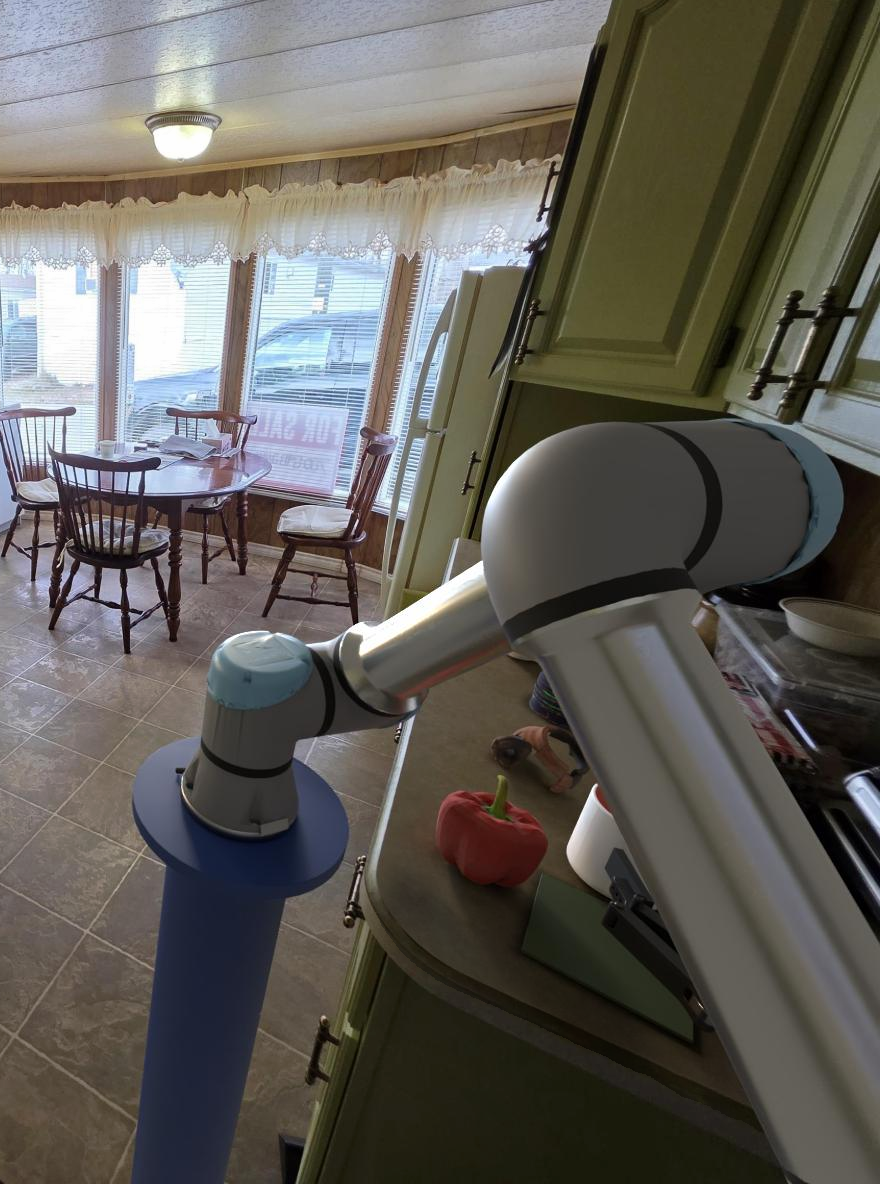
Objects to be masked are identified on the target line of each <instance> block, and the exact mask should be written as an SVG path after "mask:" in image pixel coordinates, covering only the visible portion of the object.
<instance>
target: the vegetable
mask: <svg viewBox="0 0 880 1184" xmlns="http://www.w3.org/2000/svg"><path fill="white" fill-rule="evenodd" d="M496 780H498V784H497V790H496V794H492V793H488V792H483V791H476V792H470V791H467V790H457V791H453V792H452V793H450V794H448V795H447V796H446V798H445V799H444V800H443V801H442V803H441V806H440V808H439V811H438V814H437V820H436V828H435V839H436V847H437V849H438V850H439V853H440V855H441V857H442V858H443V860H444V861H446V862H447V863H448V864H450V865H451V866H453V867H456V868H458V869H459V871H460V873H461V874H462V876H463V877H464V878H466V879H467V880H470V881H471V882H474V883H475V884H479V885H483V886H484V885H485V886H486V885H490V884H496V885H498V886H500V887H505V888H514V887H516V886H519V885H520V886H521V885H522V884H523V883H525V882H526V881H528V879H530V877H532V876H533V874H534V873H535V871H536V870H537V869H538V868H539V866H540V864H541V863H542V861H543V860H544V858H545V856H546V854H547V852H548V846H549V840H548V838H547V834H546V833H545V830H544V828H543V826H542V824H541V822H540V821H539V820H538V819H537V818H536V817H535V816H534V815H532V814H531V812H529V811H527V810H524V809H521V808H519V807H516V806H515V805H514V804H512V803H511V801H509V800H507V798H508V792H509V782H508V779H507V778H506V776H504V775H501V774H498V775H497V776H496Z"/></svg>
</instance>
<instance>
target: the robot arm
mask: <svg viewBox="0 0 880 1184" xmlns="http://www.w3.org/2000/svg"><path fill="white" fill-rule="evenodd" d="M844 496H845V495H844V488H843V483H842V480H841V477H840V474H839V472H838V470H837V468H836V466H835V464H834V463H833V461H832V460H831V458H830V457H829V456H828V455H827V454H826V452H825V451H824V450H823V449H822V448H820V446H819V445H817V444H816V443H815V442H813V441H812V440H810V439H809V438H808V437H806V436H805V435H802V434H800V433H799V432H797V431H795V430H791V429H789V428H787V427H784V426H780V425H776V424H771V423H766V422H765V423H763V422H755V421H752V420H748V419H744V418H717V419H711V420H710V419H709V420H686V421H657V422H655V421H654V422H652V421H651V422H628V421H608V422H595V423H589V424H583V425H579V426H576V427H572V428H569V429H566V430H563V431H560V432H558V433H556V434H553V435H551V436H549V437H546V438H545V439H543V440H540V441H539V442H538V443H536V444H535V445H533V446H532V447H530V448H528V449H527V450H526V451H524V452H523V453H522V454H521V455H520V456H519V457H518V458H517V459H515V461H513V462H512V463H511V464H510V466H508V468H507V470H505V471H504V473H503V475H502V476H501V477H500V479H499V480H498V481H497V483H496V485H495V486H494V488H493V490H492V492H491V495H490V497H489V499H488V501H487V504H486V507H485V509H484V515H483V519H482V525H481V538H480V553H481V554H480V555H481V561H479V562H478V563H475V564H474V565H473V566H472V567H470V568H468V569H466V570H465V571H463V572H462V573H460V574H459V575H457V576H455V577H454V578H452V579H451V580H449V581H447V583H444V584H442V585H441V586H440V587H438V588H436V589H435V590H433V591H431V592H430V593H429V594H427V595H426V596H424V597H422V598H421V599H419V600H418V601H416V602H414V603H413V604H411V605H409V606H408V607H406V608H405V609H403V610H401V611H400V612H398V613H397V614H395V615H394V616H392V617H391V618H389V619H387V620H386V621H384V622H383V621H379V620H378V621H376V620H367V621H362V622H359V623H356V624H355V625H353V626H351V627H350V628H348V629H347V630H345V631H344V632H343V633H341V634H339V635H338V636H337V637H335V638H333V639H331V640H328V641H324V642H323V641H322V642H316V643H307V644H305V643H304V642H303V641H301V640H300V639H298V638H296V637H294V636H293V635H289V634H286V633H282V632H276V633H271V632H270V631H269V630H255V631H247V632H242V633H238V634H235V635H232V636H231V637H229V638H227V639H225V640H224V641H223V642H221V643H220V645H218V647H217V648H216V649H215V652H214V653H213V655H212V658H211V661H210V666H209V669H208V670H209V671H208V673H207V676H206V683H205V684H206V685H205V686H206V693H205V701H204V710H203V718H202V725H201V734H200V737H201V742H200V745H199V746H198V748H197V750H196V752H195V754H194V755H193V757H192V759H191V761H190V762H189V764H188V766H187V768H184V767H176V769H175V772H176V774H183V777H182V782H181V792H180V793H181V800H182V803H183V806H184V808H185V809H186V811H187V812H188V814H189V815H190V816H191V817H192V818H193V819H194V820H195V821H196V822H197V823H198V824H199V825H200V826H202V827H203V828H205V829H206V830H208V831H210V832H211V833H213V834H215V835H218V836H220V837H223V838H225V839H229V840H232V841H237V842H243V843H264V842H269V841H273V840H276V839H278V838H280V837H282V836H284V835H285V834H286V833H288V832H289V831H290V830H291V829H292V827H293V826H294V824H295V821H296V817H297V813H298V807H299V800H298V794H297V788H296V783H295V778H294V773H293V768H292V760H293V757H294V754H295V750H296V746H297V742H298V741H300V740H308V739H314V738H320V737H326V736H327V737H328V736H332V735H339V734H345V733H346V734H347V733H353V732H362V731H367V730H376V729H378V730H382V729H389V728H392V727H395V726H398V725H400V724H402V723H404V722H407V721H409V720H410V719H412V718H413V717H415V715H416V714H418V713H419V711H420V710H421V708H422V707H423V705H424V702H425V701H426V699H427V698H428V694H429V692H430V689H431V688H433V687H435V686H438V685H441V684H442V683H445V682H447V681H449V680H451V679H454V678H457V677H459V676H461V675H463V674H465V673H468V672H470V671H473V670H474V669H477V668H479V667H482V666H484V665H486V664H488V663H490V662H493V661H495V660H498V659H500V658H502V657H505V656H508V655H507V654H509V653H511V652H515V653H517V654H519V655H522V656H524V657H526V658H529V659H531V660H533V661H532V662H536V663H537V664H538V665H539V666H540V668H541V670H542V671H543V672H544V674H545V676H546V678H547V681H548V683H549V685H550V687H551V689H552V691H553V693H554V695H555V697H556V699H557V701H558V703H559V706H560V708H561V710H562V712H563V714H564V716H565V718H566V720H567V722H568V724H569V726H570V728H569V729H570V730H571V732H572V733H571V734H572V735H573V736H574V737H575V739H576V741H577V743H578V745H579V747H580V749H581V751H582V753H583V755H584V758H585V760H586V762H587V764H588V766H589V768H590V769H589V771H590V772H591V774H592V777H593V778H594V780H595V782H596V783H595V784H597V785H598V787H599V789H600V791H601V793H602V795H603V797H604V799H605V801H606V803H607V805H608V808H609V810H610V812H611V814H612V816H613V818H614V820H615V822H616V824H617V826H618V828H619V830H620V832H621V835H622V837H623V839H624V841H625V843H626V845H627V847H628V849H629V851H630V853H631V855H632V857H633V860H634V862H635V864H636V866H637V868H638V870H639V872H640V874H641V876H642V878H643V880H644V882H645V885H646V887H647V889H648V890H647V889H646V887H645V885H644V884H643V882H642V880H641V879H640V877H639V875H638V873H637V872H636V870H635V868H634V867H633V865H632V863H631V862H630V860H629V858H628V857H627V855H626V853H625V852H624V850H623V849H619V848H615V847H614V848H613V850H612V853H611V855H610V857H609V859H608V861H607V863H606V865H605V870H606V872H607V874H608V876H609V878H610V879H611V881H612V882H611V884H610V886H609V892H610V894H611V895H612V897H613V899H614V900H612V899H611V900H610V902H609V903H608V904H609V906H608V908H607V910H606V912H605V914H604V916H603V919H602V921H601V923H602V925H603V926H604V927H605V928H606V929H607V930H608V931H609V932H610V933H611V934H612V935H613V936H614V937H615V938H616V939H617V940H618V941H619V942H620V943H621V944H622V945H623V946H624V947H625V948H626V949H627V950H628V951H629V952H630V953H631V954H632V955H633V956H634V957H635V958H636V959H637V960H638V961H639V962H640V963H641V964H642V965H643V966H644V967H645V968H646V969H647V970H648V971H649V972H650V973H651V974H652V975H653V976H654V977H655V978H656V979H657V980H658V981H659V982H660V983H661V984H662V985H663V986H665V987H666V988H667V989H668V990H669V991H670V992H671V993H672V994H673V995H674V996H675V997H676V998H677V999H678V1000H679V1001H680V1002H681V1004H682V1005H683V1007H684V1008H685V1010H686V1011H687V1013H688V1014H689V1016H690V1017H691V1019H692V1020H693V1024H694V1025H695V1026H696V1027H697V1028H698V1029H700V1030H701V1031H703V1032H705V1033H708V1034H712V1033H714V1032H715V1033H716V1034H717V1036H718V1038H719V1041H720V1042H721V1045H722V1047H723V1049H724V1051H725V1053H726V1055H727V1057H728V1059H729V1061H730V1064H731V1065H732V1068H733V1069H734V1072H735V1074H736V1076H737V1078H738V1081H739V1082H740V1084H741V1087H742V1088H743V1091H744V1092H745V1095H746V1097H747V1099H748V1101H749V1103H750V1105H751V1108H752V1110H753V1111H754V1114H755V1115H756V1117H757V1120H758V1121H759V1124H760V1127H761V1128H762V1130H763V1132H764V1134H765V1136H766V1138H767V1140H768V1143H769V1144H770V1146H771V1149H772V1151H773V1153H774V1155H775V1157H776V1159H777V1162H778V1164H779V1166H780V1168H781V1170H782V1172H783V1175H784V1177H785V1179H786V1182H787V1184H880V941H879V940H878V938H877V936H876V934H875V933H874V931H873V930H872V929H873V928H871V925H870V924H869V923H868V921H867V919H866V917H865V915H864V914H863V912H862V910H861V909H860V907H859V906H858V903H857V902H856V900H855V899H854V897H853V896H852V894H851V892H850V890H849V889H848V887H847V885H846V883H845V882H844V880H843V879H842V877H841V875H840V873H839V872H838V870H837V868H836V866H835V865H834V863H833V862H832V860H831V858H830V856H829V855H828V853H827V851H826V849H825V848H824V846H823V844H822V843H821V841H820V839H819V837H818V836H817V834H816V832H815V830H814V829H813V827H812V826H811V824H810V822H809V820H808V819H807V817H806V815H805V814H804V812H803V810H802V808H801V807H800V805H799V804H798V801H797V800H796V798H795V796H794V794H793V793H792V791H791V790H790V788H789V786H788V784H787V783H786V782H785V780H784V778H783V775H781V773H780V771H779V769H778V768H777V766H776V764H775V763H774V761H773V759H772V757H771V756H770V754H769V752H768V751H767V749H766V747H765V746H764V744H763V742H762V740H761V739H760V737H759V735H758V733H757V732H756V730H755V728H754V727H753V725H752V723H751V722H750V720H749V718H748V716H747V715H746V713H745V711H744V709H743V708H742V706H741V705H740V703H739V701H738V699H737V698H736V696H735V695H734V693H733V691H732V690H731V688H730V686H729V684H728V682H727V681H726V679H725V677H724V676H723V674H722V672H721V671H720V669H719V667H718V666H717V664H716V662H715V660H714V659H713V657H712V655H711V654H710V652H709V650H708V649H707V647H706V645H705V643H704V641H703V640H702V638H701V636H700V634H699V633H698V632H697V630H696V628H695V626H694V625H693V623H692V622H693V618H694V615H695V613H696V611H697V609H698V607H699V606H700V603H701V601H702V600H703V595H704V594H706V593H709V592H712V591H715V590H718V589H721V588H725V587H729V586H752V585H759V584H764V583H767V582H770V581H773V580H775V579H777V578H779V577H783V576H785V575H787V574H788V575H789V574H790V573H792V572H794V571H797V570H799V569H800V568H803V567H804V566H806V565H807V564H809V563H810V562H811V561H813V560H814V559H815V558H816V557H817V556H818V555H819V554H820V553H822V551H824V549H825V548H826V547H827V546H828V545H829V543H830V542H831V541H832V539H833V537H834V536H835V534H836V532H837V526H838V524H839V522H840V521H841V520H840V519H841V516H842V513H843V510H844ZM648 891H649V892H648ZM649 893H650V894H649ZM654 904H655V905H656V907H657V909H658V910H657V911H658V912H657V911H656V910H652V908H653V906H654Z"/></svg>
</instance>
